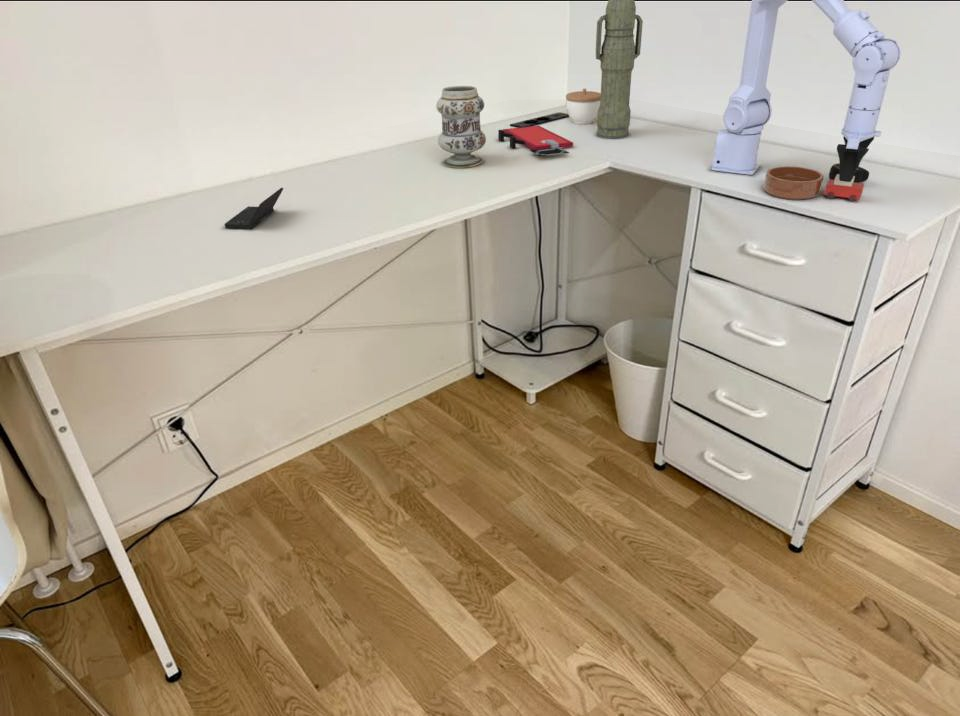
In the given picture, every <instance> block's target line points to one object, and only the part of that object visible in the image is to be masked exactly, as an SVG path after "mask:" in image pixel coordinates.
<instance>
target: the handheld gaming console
mask: <svg viewBox="0 0 960 716" xmlns="http://www.w3.org/2000/svg"><path fill="white" fill-rule="evenodd" d="M283 191H284V188H283V187H280V188H279V189H278V190H275V192H273V193H272V194H271V195H270V196H268V197H267V198H266V199H265V200H263V201H262V202H260V204H259V205H258V206H247V207H245V208H244V209H242V210H241V211H240V212H238V213H237V214H236V215H234V216H233V217H232V218H230V219H229V220H228V221H226V222H225V223H224V227H225V229H231V230H232V229H233V230H234V229H235V230H253V229H254V228H256V226H258V225H259V224H260V223H261V222H262V221H263V220H264V219H266V218H268V217H269V216H270V215H271V214H272V213H274V212H275V209H274V207H275V205H276V203H277V201H278V199H279V198H280V196H281V194H282V192H283Z"/></svg>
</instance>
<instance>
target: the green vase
mask: <svg viewBox="0 0 960 716" xmlns="http://www.w3.org/2000/svg"><path fill="white" fill-rule="evenodd" d="M636 10H637V6H636V1H635V0H608V1H607V3H606V6H605V14H603V15H602V16H600V17H599V19H597V22H596V35H595V60H599V61H600V65H599V66H600V67H599V68H600V71H601V79H600V80H601V81H600V82H601V83H600V93H601V97H600V106H599V109H598V116H597V118H596V126H597V132H596V135H597V137H599V138H601V139H606V140H618V139H619V140H620V139H624V138H627V137H628V136H629V127H630V126H631V114H632V113H631V112H632V110H631V107H630V99H631V86H632V85H631V84H632V72H633V69H634V68H635V60H636V59H637V58H638V57H639V56H640V55H641V48H642V47H641V46H642V36H643V35H642V34H643V23H644V22H643V21H644V20H643V19H642V17H641V16H640V15H638V14H636V12H637V11H636ZM603 22H604V30H605V31H604V37H603V42H602V33H603V32H602V30H603V28H602V27H603ZM635 25H636V33H635V34H634V29H635ZM634 38H635V39H634Z"/></svg>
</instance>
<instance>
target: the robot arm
mask: <svg viewBox="0 0 960 716" xmlns="http://www.w3.org/2000/svg"><path fill="white" fill-rule="evenodd" d="M788 1H789V0H751V5H750V12H749V19H748V24H747V25H748V26H747V31H746V39H745V46H744V52H743V60H742V67H741V74H740V79H739V86H738V88H737V89H735V91H733V93H732V94H731V95H730V96H729V101H728V104H727V107H726V108H725V110H724V112H723V124H724V127H725V128H721V129H720V130H719V131H718V133H717V136H716V139H715V145H714V153H713V157H712V164H711V169H710V170H711V171H716V172H722V173H731V174H732V173H733V174H740V175H748V176H752V175H754V174H755V172H756V171H757V170H758V169H759V168H760V166H761V164H759V163H757V159H758V154H759V149H760V142H761V136H762V131H763V130H764V126H765V125H766V124H767V123H769V121H770V119H771V117H772V112H773V109H772V104H771V96H772V94H771V92H770V91H769V89H768V88H767V80H768V73H769V69H770V63H771V57H772V50H773V44H774V37H775V31H776V25H777V19H778V13H779V9H780V8H781V7H783V5H784V4H786V3H787V2H788ZM811 1H812V3H814V4H815V5H816V7H818V8H819V10H820V11H821V12H822V13H823V14H824V15H825V16H826V17H827V18H828V19H829V20H830V22H832V23H833V31H832V34H833V36H834V37H835V38H836V39H837V40H838V42H839V43H840V44H841V45H842V47H843V48H844V49H845V50H846V51H847V52H848V54H849V55H850V56H851V57H852V62H851V63H852V68H853V70H854V78H853V86H852V91H851V94H850V99H849V103H848V107H847V111H846V116H845V119H844V123H843V124H844V125H843V128H842V129H841V132H840V134H841V135H842V138H843V142H844V143H843V144H842V143H838V144H837V145H836V153H837V156H838V161H839V163H840V168H839V180H840V181H845V182H851V180H852V178H853V176H854V174H855V172H856V170H857V168H858V166H859V167H860V163H861V161H862V160H863V158H864V157H865V156H866V155H867V153H868V152H869V150H870V148H869V146H870V144H871V143H872V142H873V141H874V140H875V137H877V138H879V137H881V135H882V131H881V130H876V128H877V124H878V120H879V117H880V113H881V110H882V105H883V101H884V97H885V94H886V89H887V86H888V81H889V78H890V73H891V70H892V69H894V67H896V66H897V64H898V63H899V61H900V58H901V49H900V46H899V44H898V42H897V40H895V39H893V38H885V33H884V32H883V31H879V30H878V29H877V27H876V26H875V25H874V24H873V23H872V21H870V19H869V18H870V17H871V15H870V14H869V12H868V11H862V10H861V9H853V10H851V8H850V7H849V6H848V4H847V3H846V2H845V0H811Z"/></svg>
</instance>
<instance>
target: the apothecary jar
mask: <svg viewBox="0 0 960 716" xmlns="http://www.w3.org/2000/svg"><path fill="white" fill-rule="evenodd" d="M435 108H436V110H437V112H438V113H439V114H441V133H440V134H439V136H438V137H437V144H438V146H439V147H440V148H441V149H442V150H443V151H444V152H447V153H450V154H453V155H450V156H449V157H447V158H445V159H444V160H443V165H444V166H446V167H449V168H453V169H454V168H455V169H456V168H457V169H466V168H473V167H477V166H479V165H481V164H482V163H483V159H482V157H480V156H479V155H478V156H477V155H475V154H472V153H474V152H476V151H479V150H480V149H482V148H483V147H484V146H485V145H486V143H487V137H486V134H485V133H484V132H483V130H482V129H481V112H482V111H483V110H484V108H485V102H484V99H483V98H482V97H481V96H480V95H479V92H478V89H477V87H476V86H472V85H453V86H446V87H443V88H442V90H441V96H440V98H439V99H438V100H437V101H436V105H435Z"/></svg>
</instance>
